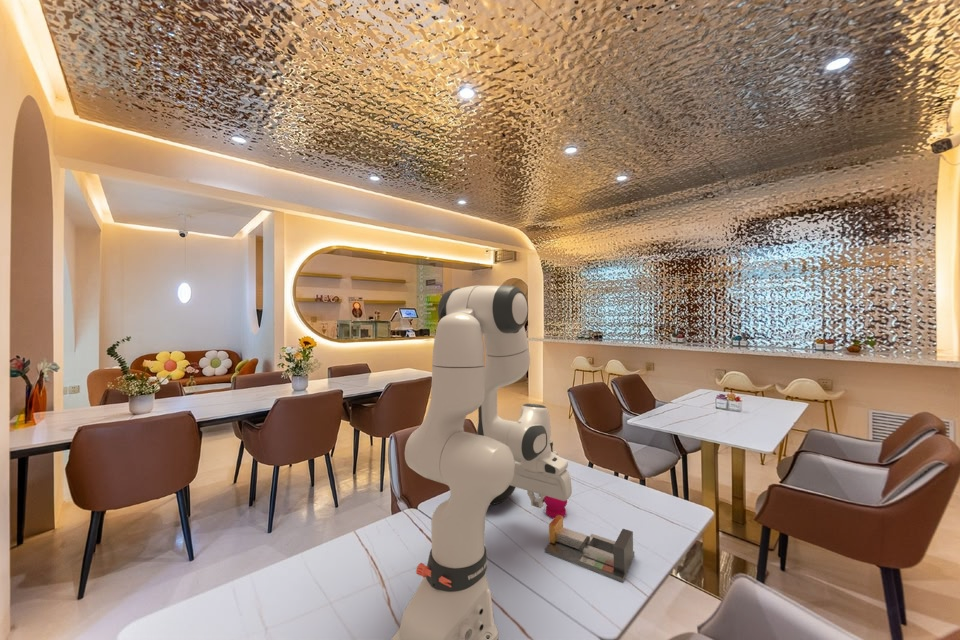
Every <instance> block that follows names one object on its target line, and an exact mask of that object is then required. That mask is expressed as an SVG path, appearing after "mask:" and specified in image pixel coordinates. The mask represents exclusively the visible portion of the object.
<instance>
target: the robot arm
mask: <svg viewBox="0 0 960 640" xmlns="http://www.w3.org/2000/svg"><path fill="white" fill-rule="evenodd" d="M437 315H438V320H439V321H438V323H437V324H436V325H437V326H436V330H435V335H434V340H433V347H432V348H433V349H432V359H431V360H432V362H431V364H432V367H431V390H430V400H429V406H428V409H427V412H426V415H425V417H424V420H423V421H422V423H421V424H420V425H419V427H417V428H416V429H414V431H412V433H411V434H410V435H409V437H408V438H407V441H406V443H405V448H404V459H405V463H406V465H407V466H408V468H410V469H411V470H412V471H414V472H415V473H416V474H418V475H420V476H421V477H423V478H424V479H428V480H431V481H434V482H436V483H440V484H443V485H446V486H448V488H449V491H450V495H449V496H450V497H449V498H448V499H446V500H444V501H442V502H441V503H440V504H438V505H437V507H436V508H435V510H434V511H433V514H432V515H431V520H430V522H431V524H430V525H431V527H430V529H431V531H430V532H431V549H430V551H429V556H428V559H427V564H426V565H425V564H424V563H423V562H420V563H419V564H418V565H417V567H416V571H415V572H416V574H417V575H418V576H420V577H422V581H421V582H420V584H419V586H417V589H416V591H415V592H414V595H412V597H411V600H410V601H409V602H408V605H407V606H406V608H405V609H404V611H403V613H402V617H401V619H400V620H401V621H400V628H398V630H397V632H395V634H394V635H393V637H391V639H390V640H497V639H499V631H498V628H497V626H496V623H495V620H494V611H493V610H494V609H493V601H492V592H491V588H490V585H489V581H488V578H487V570H488V554H487V548H486V545H485V538H486V537H485V535H486V534H485V532H486V529H485V528H486V516H487V511H488V509H489V507H490V505H491V504H490V503H491V501H492V500H493V499H494V498H496V497H497V496H499V495H500V494H502V493H503V492H504V491H505V490H506V489H507V488H508V487H509V485H510V486H514V487H516V489H517V488H518V489H521V490H525V491H526V493H527V496H528V498H529V499H530V505H531V507H536V508H538V509H542V508H543V505H544V498H545V496H548V497H552V498H555V499H559V500H562V501H566V500H567V501H568V499H570V498H571V496H572V493H573V491H572V489H573V488H572V480H571V475H570V472H569V471H568V466H569V462H568V460H567V459H564V458H563V457H562V456H559V454H558V455H556V454H555V453H553V452H554V451H553V452H551V446H550V440H551V439H550V438H551V429H552V428H551V419H550V414H549V413H550V412H549V409H548V408H547V406H545V405H542V404H536V403H525V404H522V405H521V407H520V408H521V409H520V415H519V416H520V417H519V419H518V420H517V421H515V420H514V421H513V420H509V419H504V418H502V417H500V416H499V414H498V390H499V389H500V388H503V387H507V386H509V385H512V384H514V383H516V382H518V381H519V380H520V379H522V378H524V376H525V375H526V374H527V372H528V370H529V368H530V364H531V363H530V362H531V361H530V360H531V358H530V355H531V354H530V349H529V348H530V347H529V342H528V337H527V332H526V328H525V324H526V323H527V320H528V316H529V303H528V298H527V297H526V295H525V293H524V292H523V291H522V290H521V289H520V288H519V287H518V286H515V285H509V284H503V285H481V284H477V285H471V286H466V287H465V286H464V287H456V288H452V289H449V290H446V291H444V293H443V294H442V295H441V297H440V299H439V302H438V305H437ZM485 358H486V359H485ZM476 411H478V416H477V417H478V421H477V422H478V425H477V429H476V430H477V431H476V433H473V432H468V431H465V427H464V426H465V421H466V418H467V416H468V415H470V414H473V412H476ZM535 494H538V498H537V497H536V495H535ZM487 638H489V639H487Z"/></svg>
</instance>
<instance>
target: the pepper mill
mask: <svg viewBox="0 0 960 640" xmlns="http://www.w3.org/2000/svg"><path fill="white" fill-rule="evenodd" d="M553 453H555V454H556V455H558V456H559V454H558V451H556V450H553ZM543 502H544V504H545V505H546V507H545V514H546V515H547V516H548V517H549V518H552V519H554V518H555V517H556V516H557V515H561V516H563V518H565V517H566V515H567V511H566V510H567V508H566V506H567V504H568V499H567V500H566V501H562V500H559V499H555V498H552V497H548V496H545V498H544V500H543Z"/></svg>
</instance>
